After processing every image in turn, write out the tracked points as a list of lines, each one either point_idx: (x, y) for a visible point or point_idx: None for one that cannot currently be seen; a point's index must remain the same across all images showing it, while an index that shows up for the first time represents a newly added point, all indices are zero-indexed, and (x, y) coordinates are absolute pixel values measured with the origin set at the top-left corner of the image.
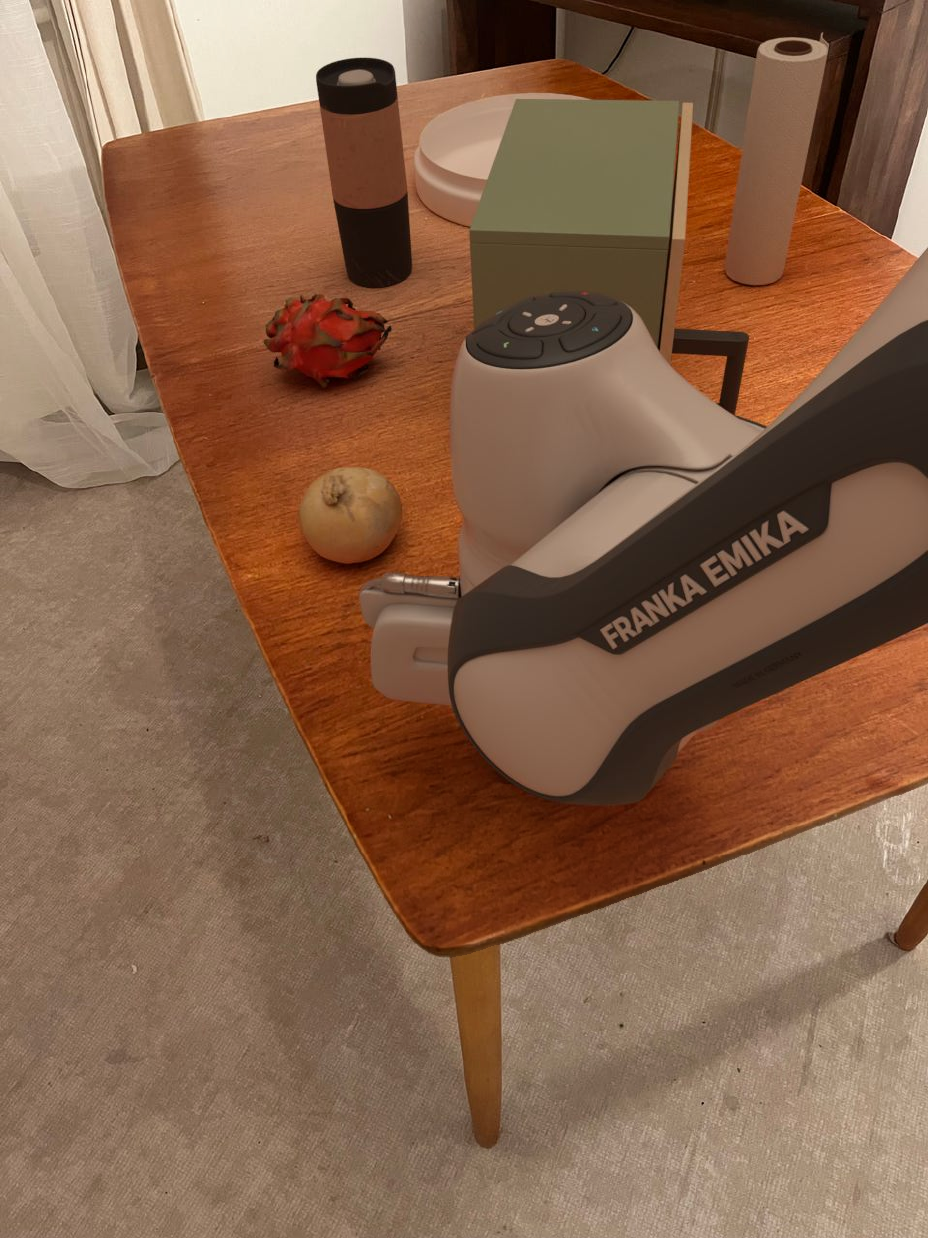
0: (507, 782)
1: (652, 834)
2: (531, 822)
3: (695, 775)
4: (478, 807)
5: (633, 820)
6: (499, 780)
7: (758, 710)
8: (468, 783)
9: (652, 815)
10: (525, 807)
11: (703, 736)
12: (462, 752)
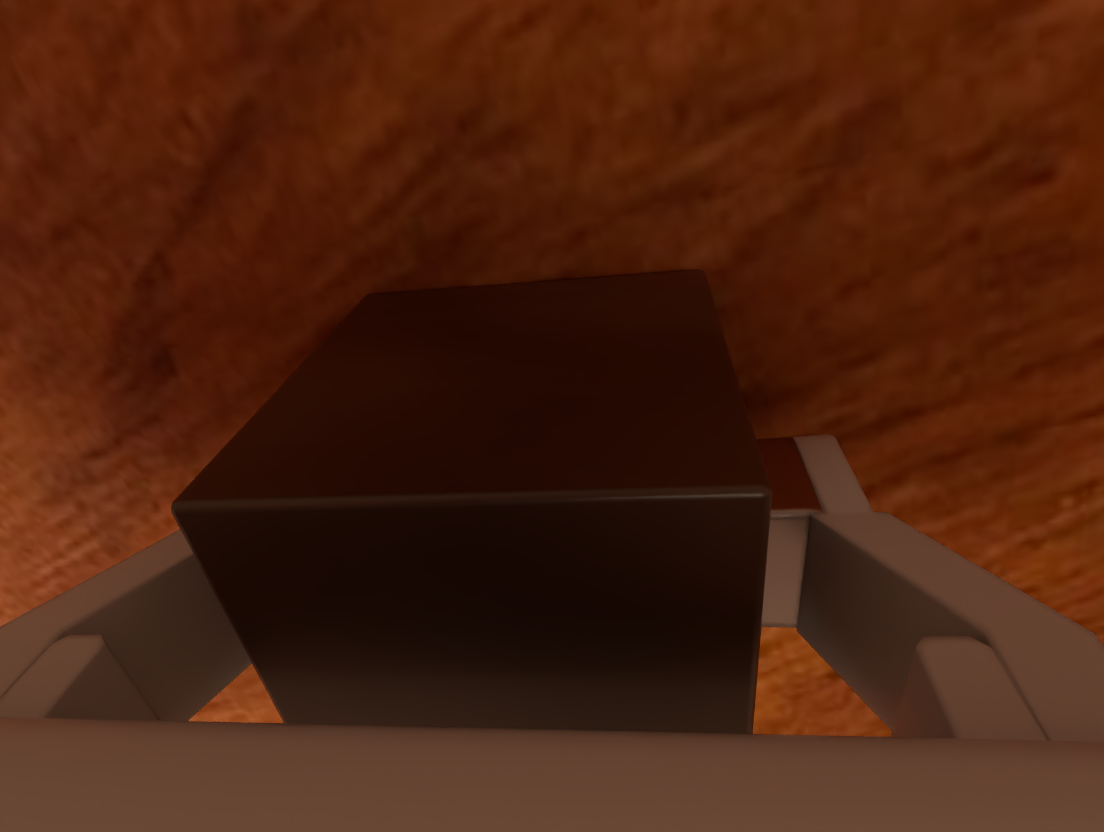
0: (660, 274)
1: (9, 164)
2: (505, 87)
3: (27, 437)
4: (783, 107)
5: (108, 213)
6: (698, 274)
7: None
8: (845, 234)
9: (58, 253)
10: (554, 166)
11: (86, 560)
12: (882, 380)
